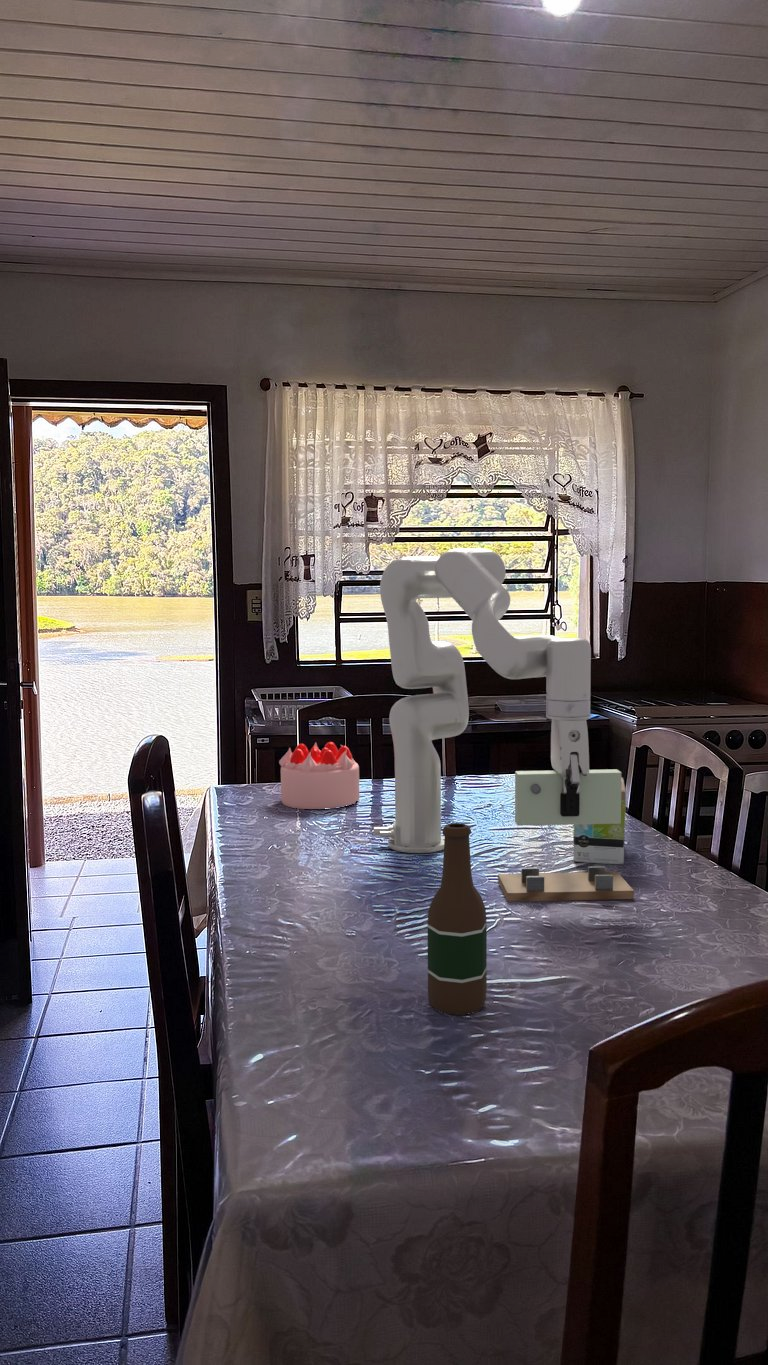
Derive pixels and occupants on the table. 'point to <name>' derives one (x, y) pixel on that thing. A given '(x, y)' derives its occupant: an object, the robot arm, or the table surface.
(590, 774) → the door
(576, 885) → the cabinet side
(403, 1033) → the table surface
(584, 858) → the tea box
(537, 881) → the hinge clips
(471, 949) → the beer bottle
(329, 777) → the cake
